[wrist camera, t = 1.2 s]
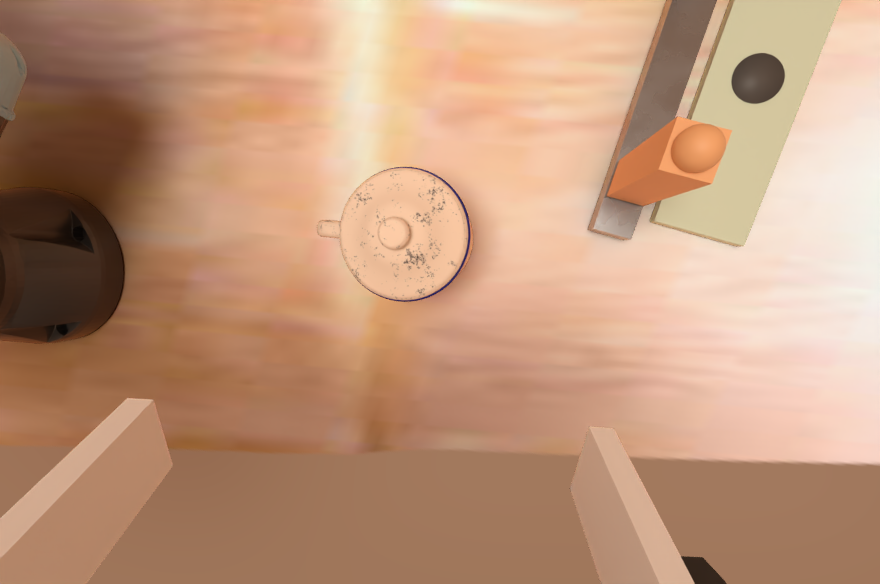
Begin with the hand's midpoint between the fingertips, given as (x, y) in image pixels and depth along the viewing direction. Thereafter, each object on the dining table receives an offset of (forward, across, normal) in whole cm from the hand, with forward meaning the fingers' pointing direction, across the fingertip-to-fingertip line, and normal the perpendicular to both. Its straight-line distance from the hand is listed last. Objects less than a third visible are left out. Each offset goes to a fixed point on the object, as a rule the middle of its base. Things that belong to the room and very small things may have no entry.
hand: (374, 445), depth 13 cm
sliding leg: (+22, +16, +5) cm, 28 cm away
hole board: (+26, +25, +13) cm, 39 cm away
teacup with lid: (+26, -1, -2) cm, 26 cm away
